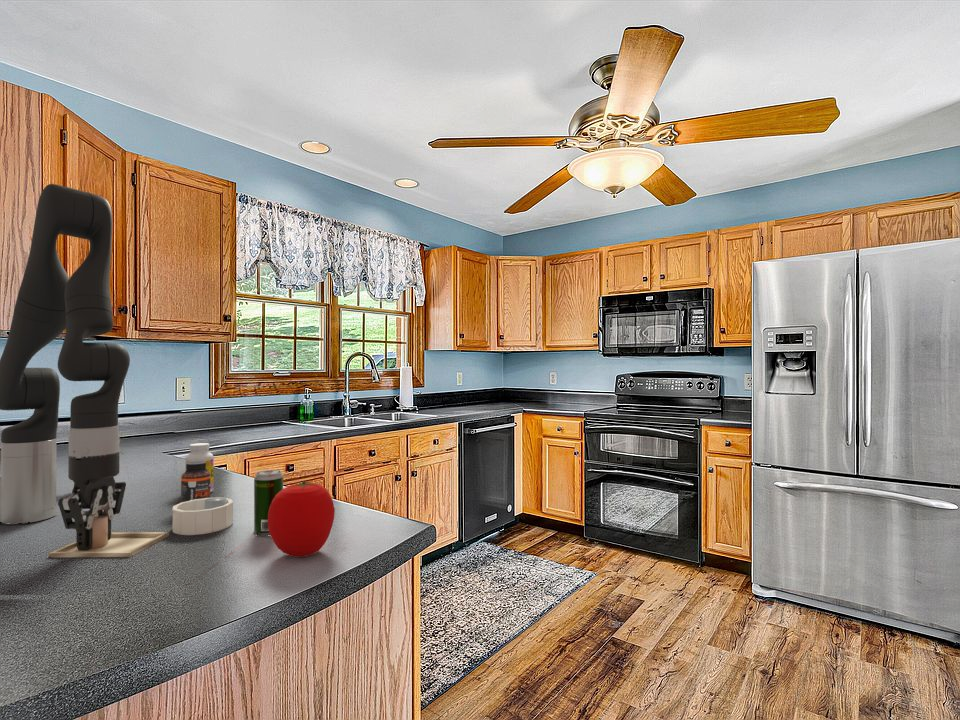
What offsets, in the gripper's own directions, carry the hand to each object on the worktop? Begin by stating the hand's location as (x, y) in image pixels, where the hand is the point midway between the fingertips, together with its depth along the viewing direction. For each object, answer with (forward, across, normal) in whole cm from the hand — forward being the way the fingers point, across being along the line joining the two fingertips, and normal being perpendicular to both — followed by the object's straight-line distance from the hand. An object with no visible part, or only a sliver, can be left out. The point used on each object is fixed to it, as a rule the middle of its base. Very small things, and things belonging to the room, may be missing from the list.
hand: (94, 544), depth 94 cm
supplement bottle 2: (+1, -24, +5) cm, 25 cm away
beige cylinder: (0, 0, 0) cm, 0 cm away
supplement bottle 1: (+1, -42, -4) cm, 42 cm away
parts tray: (+1, 0, +3) cm, 3 cm away
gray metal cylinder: (0, -13, +16) cm, 20 cm away
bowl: (+1, -12, +14) cm, 18 cm away
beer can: (+1, -9, +28) cm, 30 cm away
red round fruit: (+1, +3, +39) cm, 39 cm away
